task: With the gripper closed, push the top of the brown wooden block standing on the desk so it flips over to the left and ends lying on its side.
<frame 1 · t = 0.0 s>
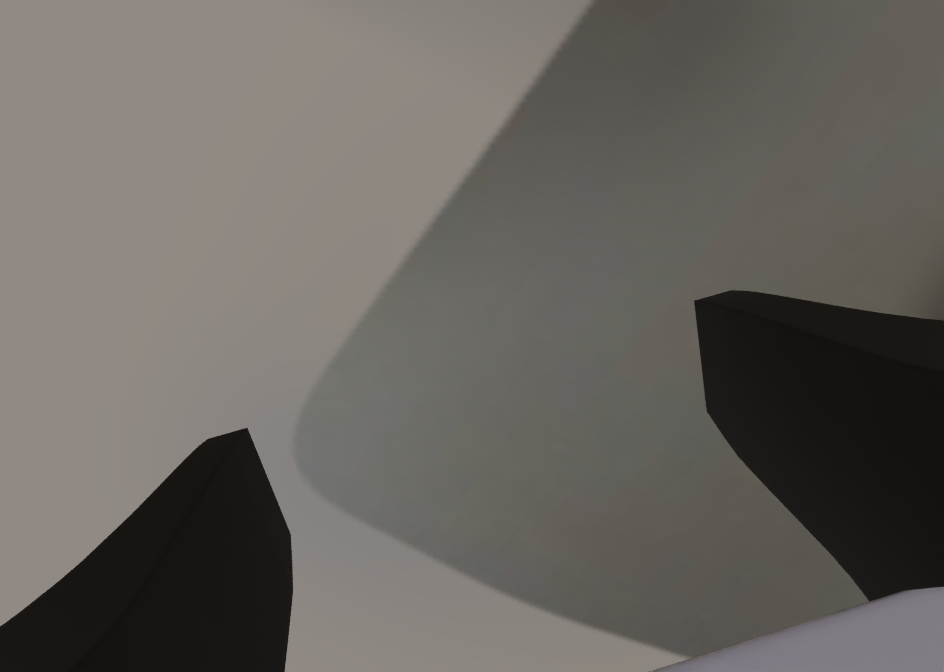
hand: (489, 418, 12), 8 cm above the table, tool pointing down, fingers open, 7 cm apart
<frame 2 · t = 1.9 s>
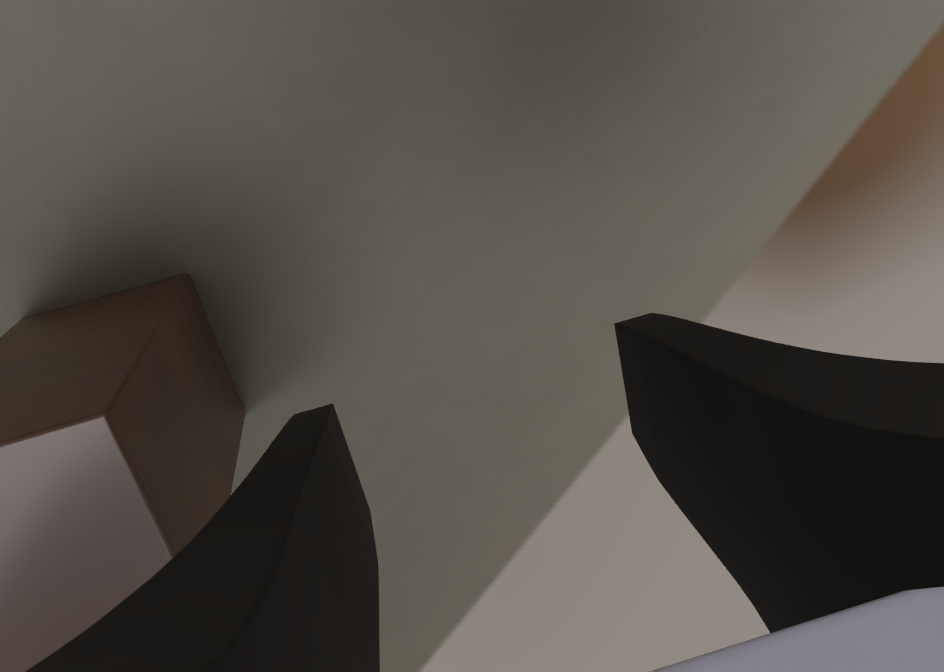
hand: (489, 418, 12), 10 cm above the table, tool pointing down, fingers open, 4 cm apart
brown wooden block: (138, 370, 21), on the table
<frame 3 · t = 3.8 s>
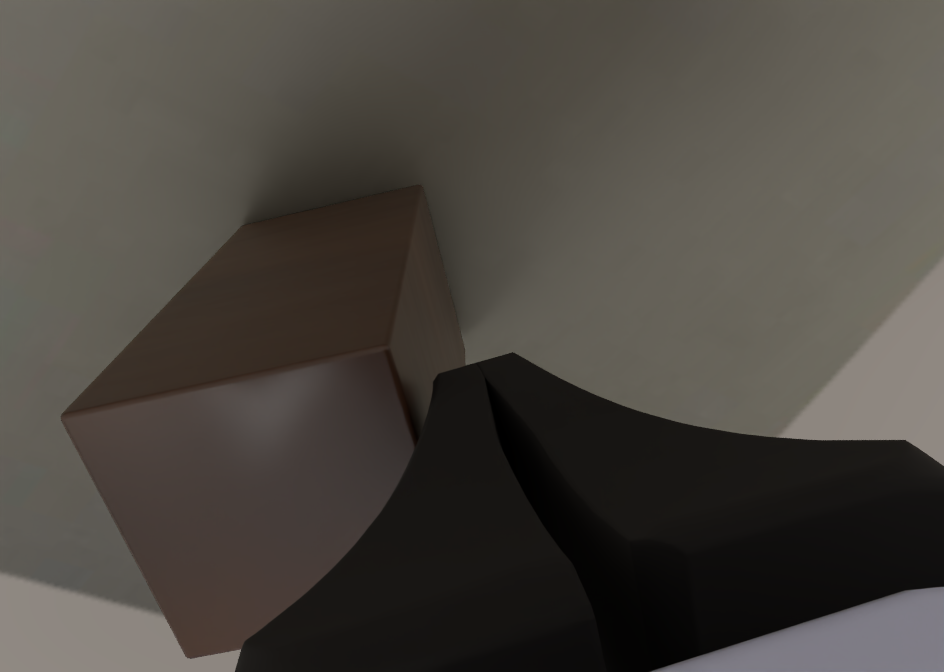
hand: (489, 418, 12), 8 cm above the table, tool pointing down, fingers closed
brown wooden block: (357, 290, 19), on the table, tilted 9°
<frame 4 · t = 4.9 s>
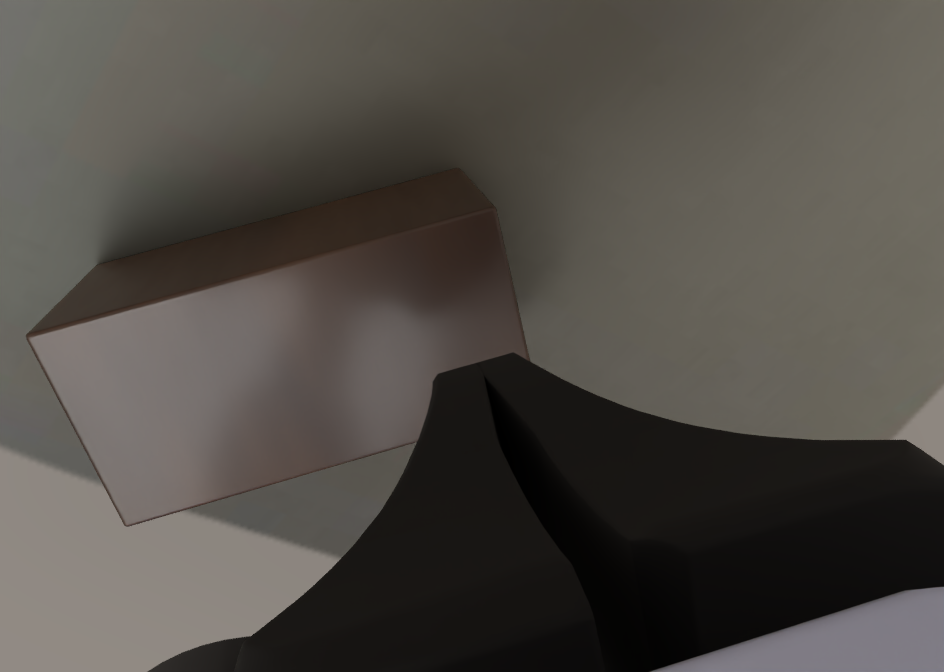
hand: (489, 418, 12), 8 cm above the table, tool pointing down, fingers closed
brown wooden block: (497, 278, 17), point 2 cm above the table, tilted 90°
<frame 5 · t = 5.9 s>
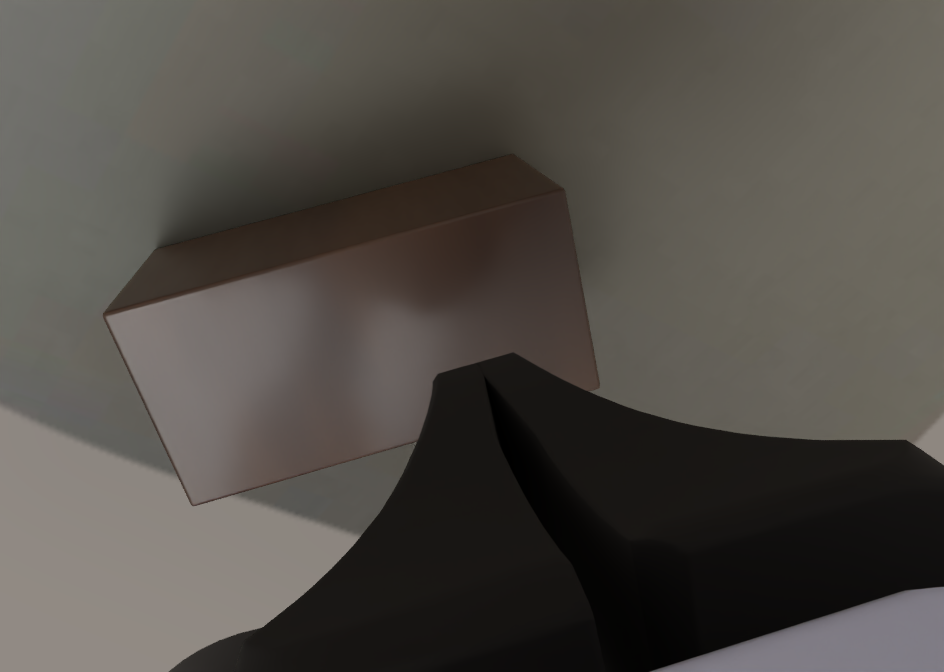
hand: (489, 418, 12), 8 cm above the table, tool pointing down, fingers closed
brown wooden block: (555, 263, 17), point 2 cm above the table, tilted 90°
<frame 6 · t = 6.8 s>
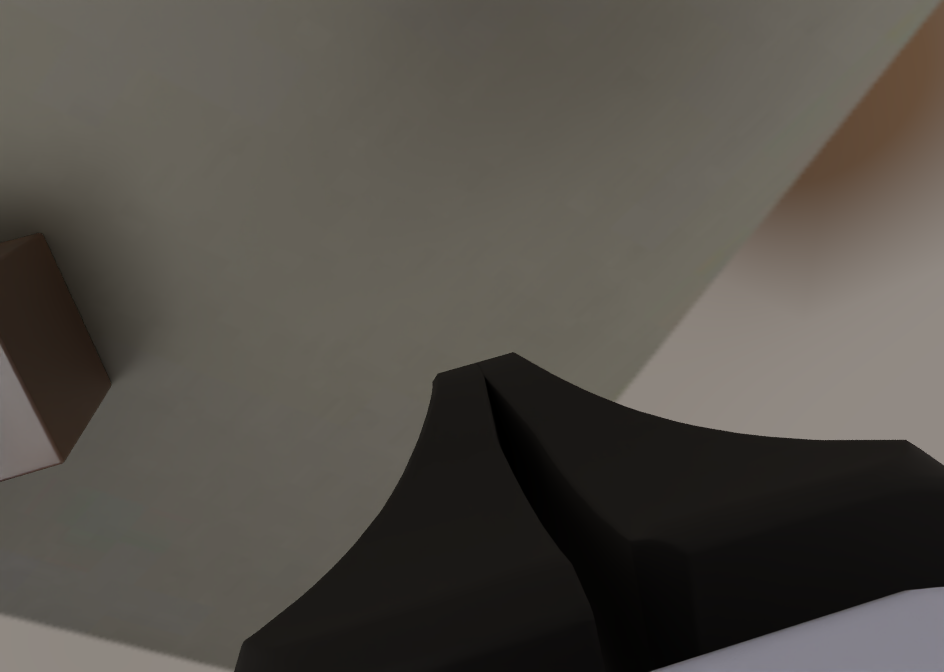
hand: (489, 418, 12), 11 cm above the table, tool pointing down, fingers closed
brown wooden block: (53, 339, 18), point 2 cm above the table, tilted 90°
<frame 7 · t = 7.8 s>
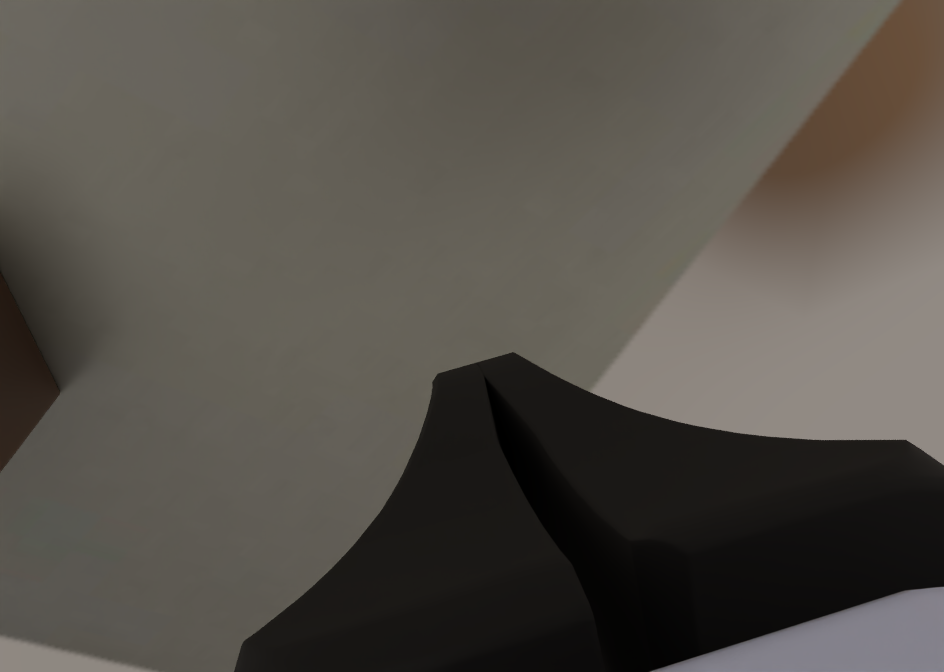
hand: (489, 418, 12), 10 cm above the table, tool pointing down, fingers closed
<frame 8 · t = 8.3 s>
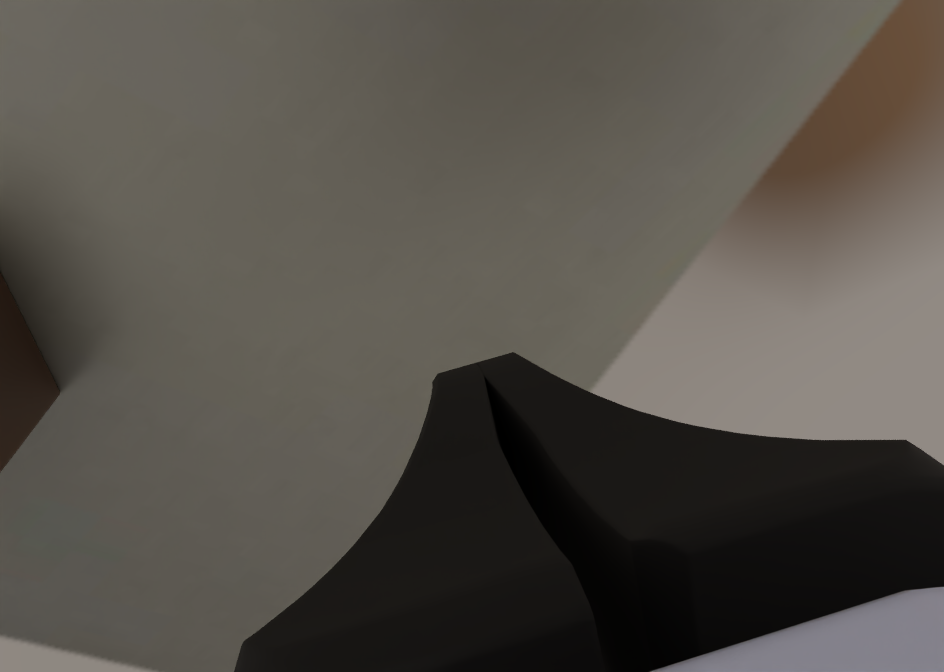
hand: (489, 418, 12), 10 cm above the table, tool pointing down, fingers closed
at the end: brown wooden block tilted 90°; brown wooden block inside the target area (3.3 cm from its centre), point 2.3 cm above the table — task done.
